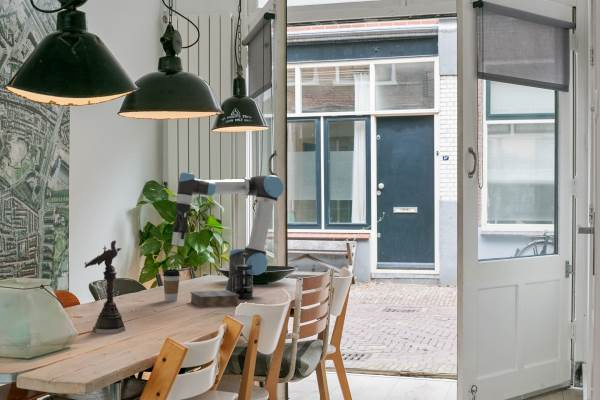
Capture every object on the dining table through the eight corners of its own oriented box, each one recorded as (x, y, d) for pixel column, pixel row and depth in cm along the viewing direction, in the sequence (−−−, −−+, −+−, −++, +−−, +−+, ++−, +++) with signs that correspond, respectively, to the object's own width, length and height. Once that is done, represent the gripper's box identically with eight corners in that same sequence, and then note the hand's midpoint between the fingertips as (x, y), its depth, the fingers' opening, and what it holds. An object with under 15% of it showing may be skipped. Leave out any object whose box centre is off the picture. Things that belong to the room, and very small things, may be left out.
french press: (255, 297, 372) (256, 253, 372) (252, 300, 363) (252, 254, 363) (233, 296, 374) (234, 252, 374) (229, 299, 365) (229, 253, 365)
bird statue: (73, 332, 270) (74, 239, 270) (90, 326, 283) (92, 237, 283) (114, 335, 267) (115, 240, 266) (130, 329, 279) (131, 238, 279)
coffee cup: (181, 299, 361) (182, 269, 361) (177, 302, 353) (177, 271, 353) (165, 299, 362) (165, 269, 362) (160, 301, 354) (160, 270, 354)
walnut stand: (227, 300, 361) (227, 290, 361) (239, 305, 344) (239, 295, 344) (189, 301, 354) (190, 291, 354) (200, 307, 336) (201, 296, 336)
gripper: (170, 202, 373) (164, 243, 372) (182, 202, 350) (176, 245, 349) (184, 204, 376) (178, 245, 375) (197, 204, 353) (191, 247, 352)
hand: (177, 245), depth 362 cm, fingers open, 13 cm apart
